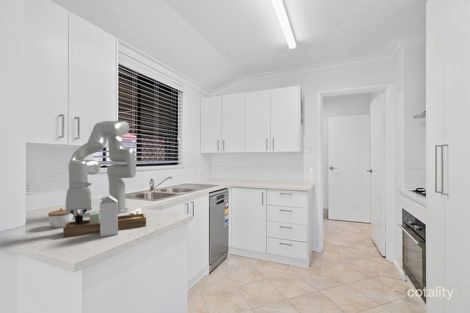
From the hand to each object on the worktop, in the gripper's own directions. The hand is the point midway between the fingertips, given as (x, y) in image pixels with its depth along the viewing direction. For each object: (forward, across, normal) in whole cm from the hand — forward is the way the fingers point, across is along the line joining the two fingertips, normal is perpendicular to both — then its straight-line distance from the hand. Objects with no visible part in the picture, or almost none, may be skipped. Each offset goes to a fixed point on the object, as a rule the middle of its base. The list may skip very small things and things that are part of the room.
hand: (79, 223), depth 111 cm
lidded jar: (+4, +10, -15) cm, 18 cm away
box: (+4, -13, +2) cm, 13 cm away
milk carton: (+4, -14, +11) cm, 18 cm away
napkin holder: (+5, -25, -11) cm, 28 cm away
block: (+1, -7, 0) cm, 7 cm away
